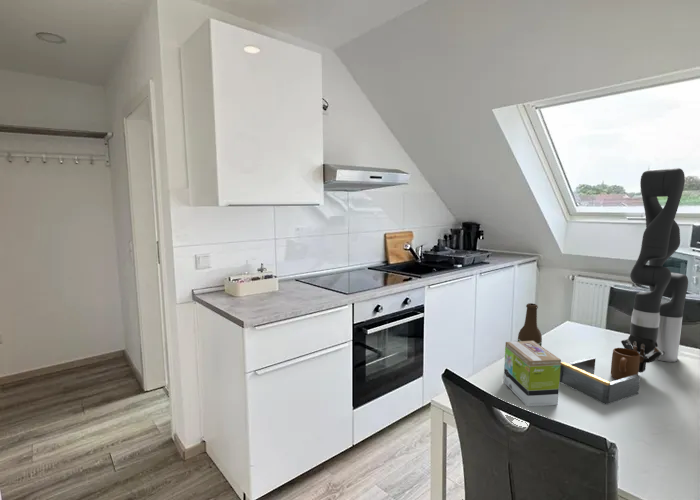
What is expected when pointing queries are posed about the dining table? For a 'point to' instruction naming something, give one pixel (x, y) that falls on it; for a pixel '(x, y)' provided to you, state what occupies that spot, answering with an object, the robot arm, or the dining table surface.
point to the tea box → (532, 373)
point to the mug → (624, 363)
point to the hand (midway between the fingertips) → (639, 371)
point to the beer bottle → (530, 326)
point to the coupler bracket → (597, 382)
